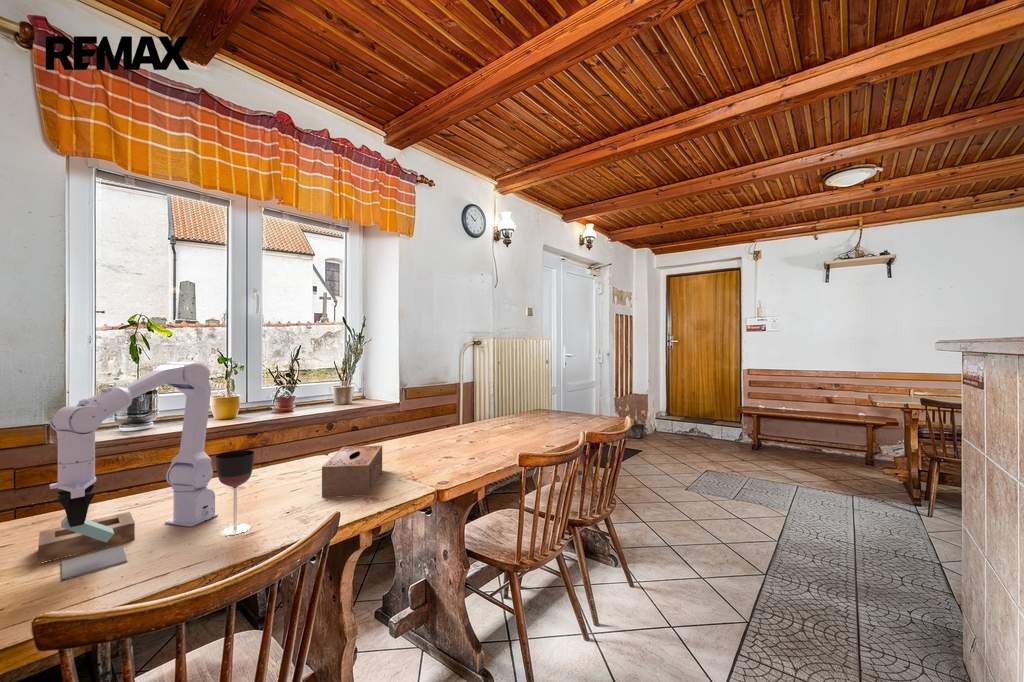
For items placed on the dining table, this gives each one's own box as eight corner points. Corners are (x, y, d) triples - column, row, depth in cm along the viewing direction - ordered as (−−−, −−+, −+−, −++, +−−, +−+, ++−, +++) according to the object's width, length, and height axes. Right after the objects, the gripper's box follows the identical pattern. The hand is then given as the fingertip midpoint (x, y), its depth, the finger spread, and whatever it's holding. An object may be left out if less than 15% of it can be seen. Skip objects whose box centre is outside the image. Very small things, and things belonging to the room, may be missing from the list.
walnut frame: (129, 527, 112) (129, 511, 112) (134, 539, 105) (134, 522, 105) (39, 549, 100) (39, 531, 100) (38, 564, 93) (38, 545, 93)
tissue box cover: (343, 473, 159) (343, 446, 159) (382, 471, 161) (382, 445, 161) (321, 498, 133) (321, 467, 133) (368, 496, 135) (368, 465, 135)
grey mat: (122, 547, 101) (122, 545, 101) (127, 561, 94) (127, 560, 94) (61, 563, 94) (61, 561, 94) (61, 580, 87) (61, 578, 87)
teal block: (105, 536, 97) (112, 528, 98) (106, 542, 94) (114, 533, 95) (60, 521, 92) (69, 512, 93) (61, 527, 89) (69, 518, 90)
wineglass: (226, 523, 114) (226, 450, 114) (260, 522, 115) (260, 449, 115) (208, 537, 106) (208, 458, 106) (244, 536, 107) (244, 458, 107)
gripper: (50, 457, 94) (49, 518, 94) (49, 471, 84) (49, 539, 84) (94, 451, 99) (94, 509, 99) (98, 464, 89) (98, 527, 89)
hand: (76, 522), depth 92 cm, fingers closed on teal block, 4 cm apart
